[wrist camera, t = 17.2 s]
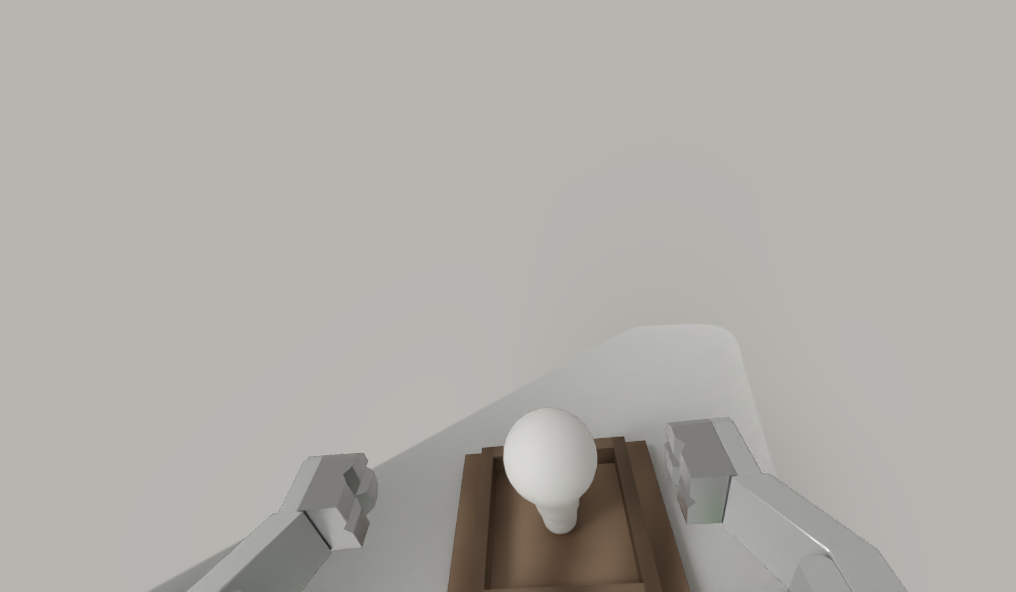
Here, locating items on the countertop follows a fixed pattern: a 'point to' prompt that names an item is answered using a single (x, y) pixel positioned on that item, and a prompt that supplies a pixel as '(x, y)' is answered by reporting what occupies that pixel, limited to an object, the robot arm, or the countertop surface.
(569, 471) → the lightbulb
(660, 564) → the brown rimmed tray
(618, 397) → the countertop surface
